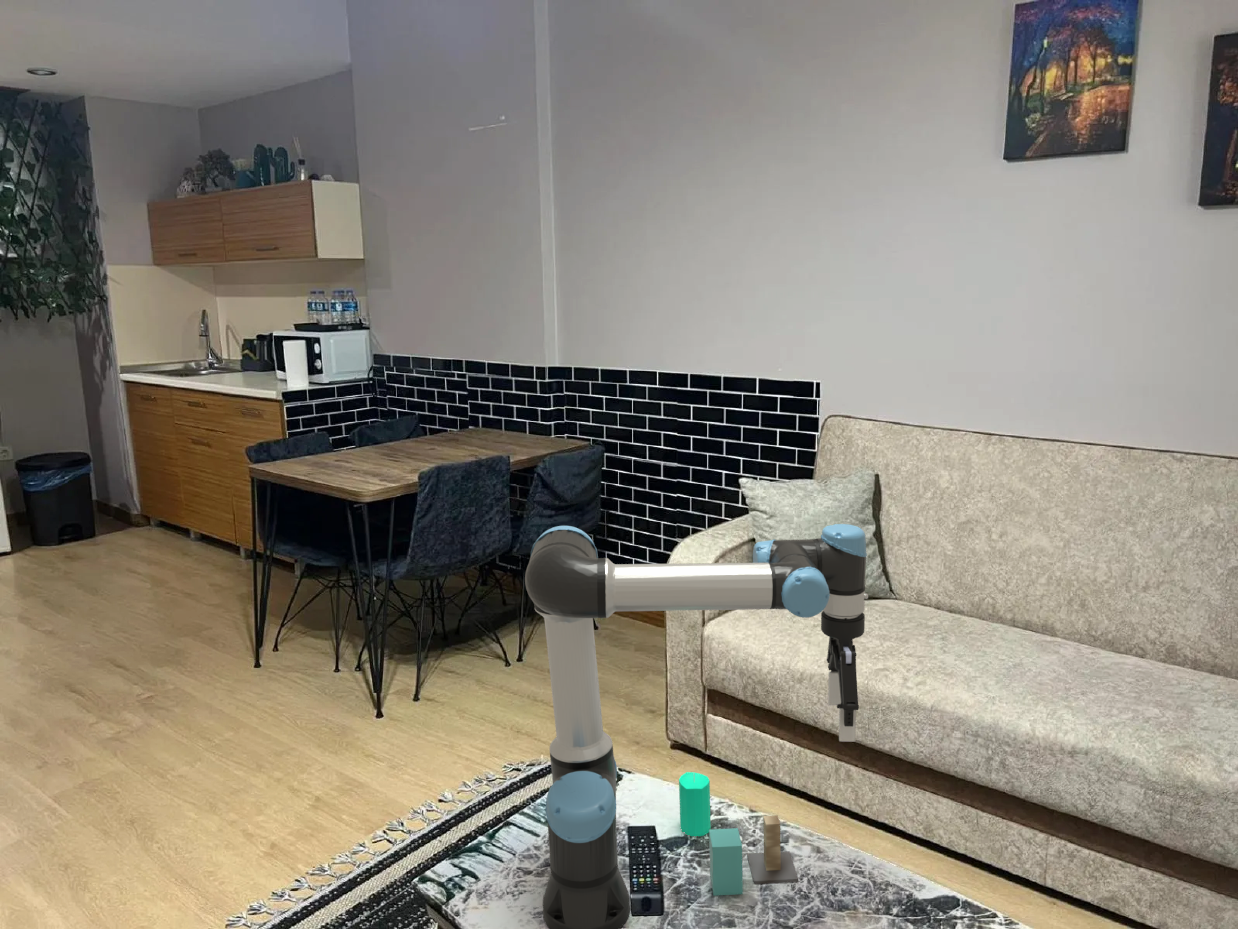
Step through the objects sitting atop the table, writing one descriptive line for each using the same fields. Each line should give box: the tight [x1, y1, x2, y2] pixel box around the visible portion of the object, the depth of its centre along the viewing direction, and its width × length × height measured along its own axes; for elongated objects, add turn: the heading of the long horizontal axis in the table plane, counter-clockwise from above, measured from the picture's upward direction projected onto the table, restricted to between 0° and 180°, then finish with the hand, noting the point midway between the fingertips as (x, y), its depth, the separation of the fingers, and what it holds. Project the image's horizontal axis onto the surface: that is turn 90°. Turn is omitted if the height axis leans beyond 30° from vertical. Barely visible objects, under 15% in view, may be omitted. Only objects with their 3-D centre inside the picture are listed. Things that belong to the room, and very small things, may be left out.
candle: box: [678, 771, 712, 838], centre depth 181 cm, size 6×6×12 cm
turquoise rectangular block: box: [708, 827, 744, 897], centre depth 164 cm, size 5×5×10 cm
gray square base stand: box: [746, 815, 799, 885], centre depth 168 cm, size 8×8×10 cm
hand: (841, 722), depth 167 cm, fingers open, 13 cm apart
